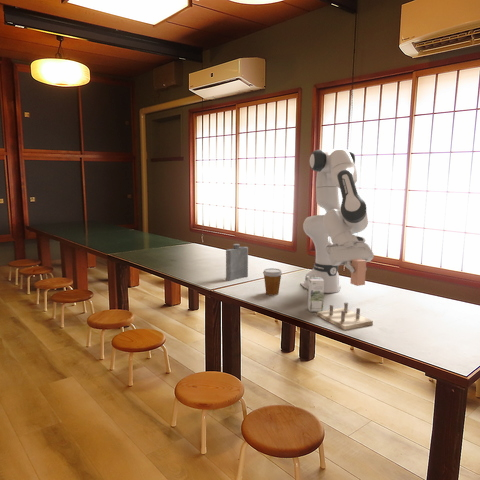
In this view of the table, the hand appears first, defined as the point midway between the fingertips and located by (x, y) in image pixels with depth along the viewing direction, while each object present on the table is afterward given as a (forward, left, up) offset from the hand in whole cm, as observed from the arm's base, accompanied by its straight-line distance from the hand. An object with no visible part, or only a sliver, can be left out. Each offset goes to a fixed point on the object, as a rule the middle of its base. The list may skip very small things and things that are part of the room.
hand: (359, 271), depth 164 cm
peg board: (-3, -4, -21) cm, 21 cm away
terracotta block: (-1, 0, -5) cm, 5 cm away
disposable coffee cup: (-48, -13, -21) cm, 54 cm away
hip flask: (-83, -17, -21) cm, 88 cm away
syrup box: (-18, -8, -21) cm, 29 cm away
